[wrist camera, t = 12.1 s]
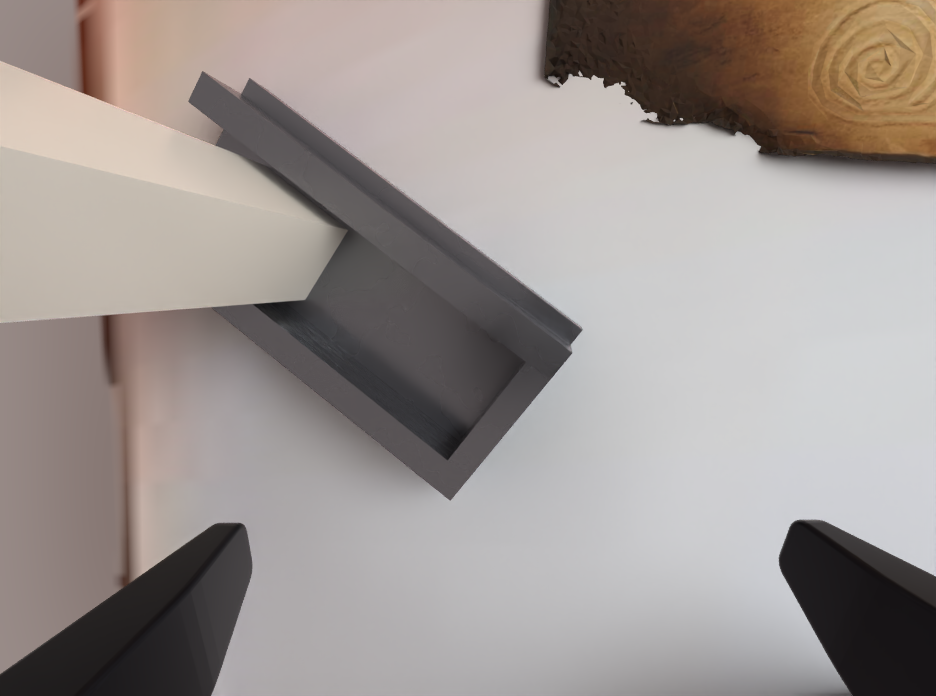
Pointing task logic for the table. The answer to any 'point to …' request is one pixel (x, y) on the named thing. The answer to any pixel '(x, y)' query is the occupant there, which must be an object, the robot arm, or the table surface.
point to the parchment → (766, 68)
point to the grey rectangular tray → (393, 304)
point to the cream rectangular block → (139, 214)
